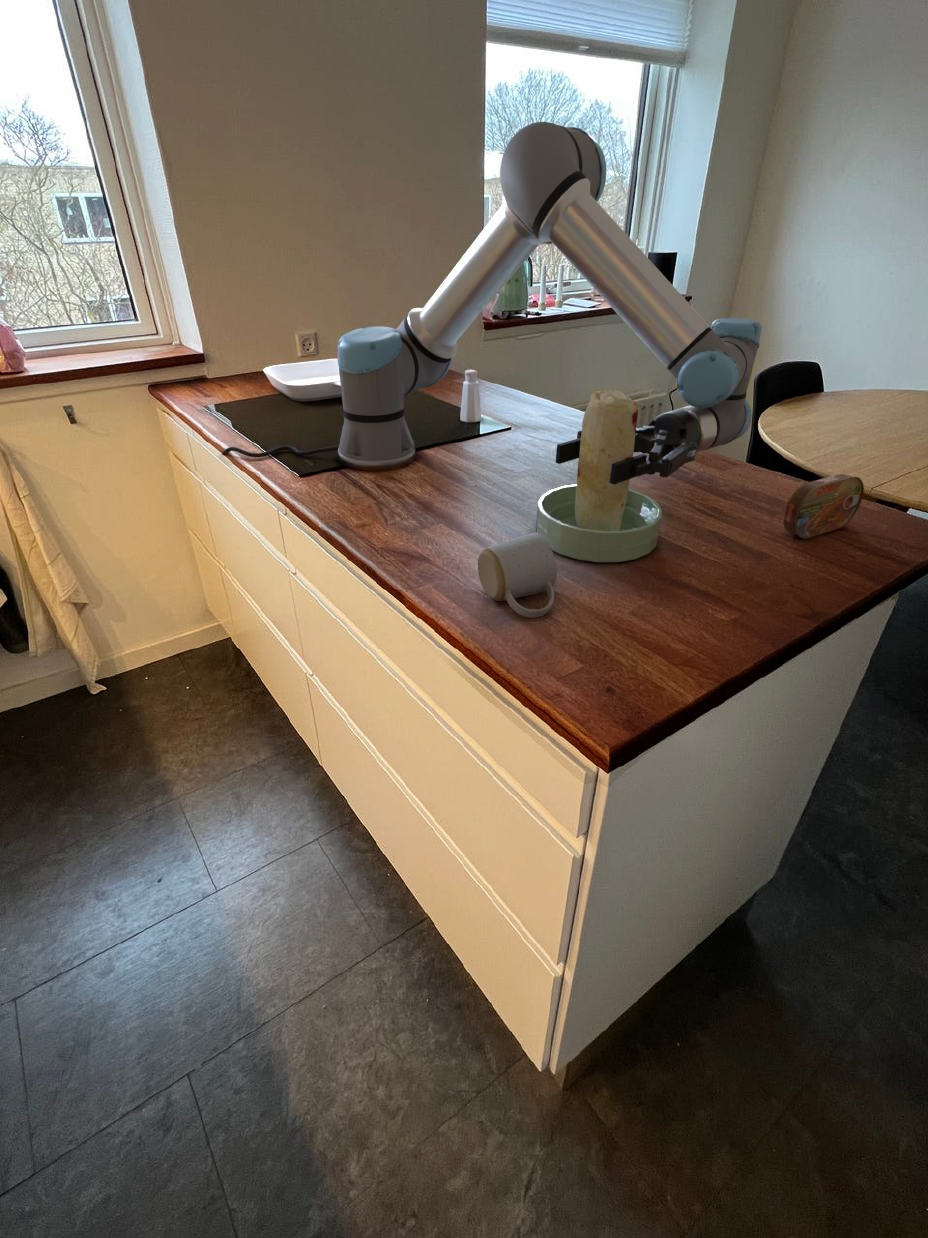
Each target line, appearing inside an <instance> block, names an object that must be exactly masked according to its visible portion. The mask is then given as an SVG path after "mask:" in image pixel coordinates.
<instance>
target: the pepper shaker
mask: <svg viewBox="0 0 928 1238" xmlns="http://www.w3.org/2000/svg"><path fill="white" fill-rule="evenodd" d="M464 374H465V375H464V376H465V377H464V378H465V379H464V380H465V381H463V384H462V395H461V403H460V404H461V406H460V416H459V418H460V419H459V420H460V421H461V422H464V423H477V422H480V421H482V411H481V408H482V407H481V398H480V397H481V396H480V395H481V394H480V385H479V381H478V380H477V378H478V371H477V370H475V369H466V370H465V371H464Z"/></svg>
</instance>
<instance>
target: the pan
mask: <svg viewBox="0 0 928 1238" xmlns="http://www.w3.org/2000/svg"><path fill="white" fill-rule="evenodd" d="M337 359H338V358H329V359H321V360H312V361H311V360H310V361H302V362H292V363H284V364H275V365H269V366H266V367H265V368H263V369H262V372H263V373H264V374H265V376H266V378H267V379H268V381H269V382H270V384H271V385H272V387H273V389H275V390H277V391H278V392H280V393H281V394H283V395H284V396H285V397H287V398H288V399H290V400H291V401H292V400H293V401H296V402H315V401H323V400H330V399H337V398H342V393H341V383H340V374H339V366H338V362H337Z"/></svg>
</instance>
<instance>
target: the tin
mask: <svg viewBox="0 0 928 1238" xmlns="http://www.w3.org/2000/svg"><path fill="white" fill-rule="evenodd" d="M864 490H865V485H864V482H863V481H862V479H861V478H860V477H858V476H852V475H848V474H843V473H840V474H839V473H837V474H835V475H830V476H828V477H823V478H820V479H817V480H812V481H808V482H805V483H804V484H802V485H800V486H799V487H797V489H796V490H795V491H794V492H793V493H792V494H791V496H790V497H789V499H788V501H787V505H786V508H785V511H784V518H783V526H784V529H785V530H786V531H787V532H788V533H790V534H792V535H795V536H797V537H798V538H800V539H804V540H805V539H811V538H813V537H818V536H819V535H822V534H826V533H829V532H832V531H835V530H836V531H837V530H839V529H841V528H843V527H844V526H846V525H847V524H848V523H849V522H850V521H851V520H852V519H853V518H854V516H855V515H856V514H857V511H858V510H859V508H860V507H861V506H860V505H861V504H862V500H863V498H864V492H865V491H864Z"/></svg>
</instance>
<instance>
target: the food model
mask: <svg viewBox="0 0 928 1238" xmlns="http://www.w3.org/2000/svg"><path fill="white" fill-rule="evenodd" d="M638 415H639V407H638V404H637V402H636V401H635V400H633V399H632V398H631V397H629V396H628V395H627V394H625V393H623V392H622V391H619V390H617V389H616V390H615V389H613V388H612V389H611V388H609V389H602V390H597V391H594V392H592V393H591V395H590V398H589V404H588V405H587V407H586V409H585V411H584V415H583V418H582V422H581V430H582V434H581V443H580V452H579V458H578V461H577V462H578V463H577V474H576V484H577V486H576V498H575V519H576V522H577V526H578V527H579V528H582V529H589V530H597V531H619V529H620V526H621V521H622V517H623V512H624V508H625V504H626V499H627V493H628V489H629V486H630V480H631V479H628V480H625V481H623V482H620V483H617V484H611V483H610V476H611V469H612V464H613V463H616V462H619V461H622V460H625V459H628V458H631V457H634V453H635V452H634V444H635V433H636V428H637V424H638Z"/></svg>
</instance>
